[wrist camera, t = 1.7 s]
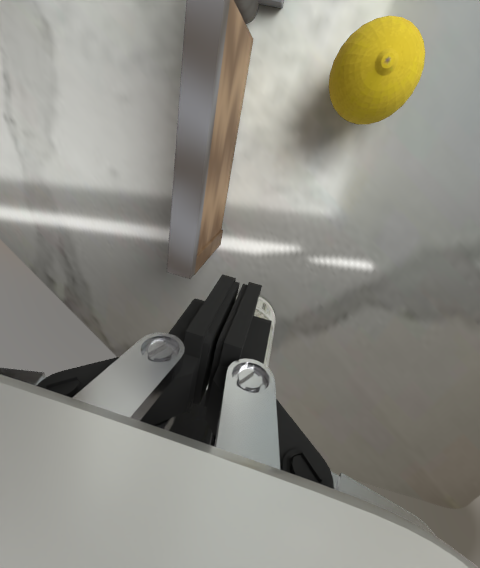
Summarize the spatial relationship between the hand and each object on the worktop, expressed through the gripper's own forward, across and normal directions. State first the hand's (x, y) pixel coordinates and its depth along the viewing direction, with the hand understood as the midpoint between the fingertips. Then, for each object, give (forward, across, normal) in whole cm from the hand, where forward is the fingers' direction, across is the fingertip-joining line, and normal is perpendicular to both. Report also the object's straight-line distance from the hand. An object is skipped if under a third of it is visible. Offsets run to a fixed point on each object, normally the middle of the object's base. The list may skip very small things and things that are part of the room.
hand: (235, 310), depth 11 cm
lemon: (+19, -4, -11) cm, 22 cm away
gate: (+18, +6, -5) cm, 20 cm away
